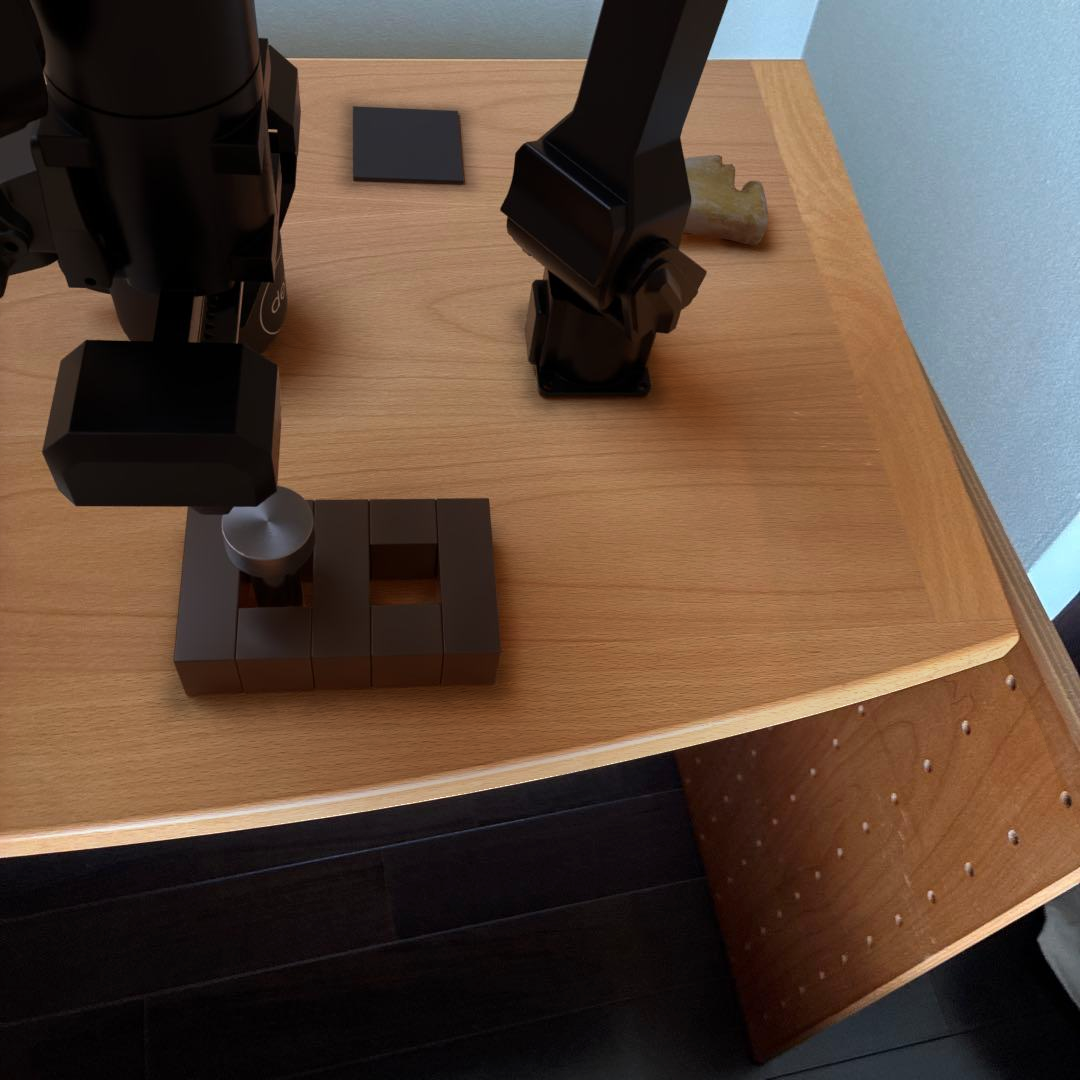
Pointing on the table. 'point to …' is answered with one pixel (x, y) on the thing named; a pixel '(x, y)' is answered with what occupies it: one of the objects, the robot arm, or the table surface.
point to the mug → (204, 309)
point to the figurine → (724, 202)
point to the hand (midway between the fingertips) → (223, 413)
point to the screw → (272, 546)
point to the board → (347, 604)
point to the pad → (406, 145)
